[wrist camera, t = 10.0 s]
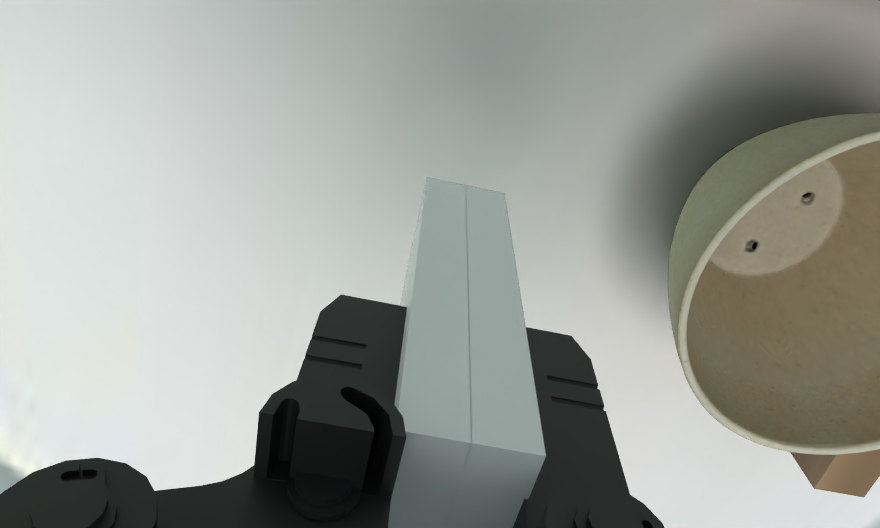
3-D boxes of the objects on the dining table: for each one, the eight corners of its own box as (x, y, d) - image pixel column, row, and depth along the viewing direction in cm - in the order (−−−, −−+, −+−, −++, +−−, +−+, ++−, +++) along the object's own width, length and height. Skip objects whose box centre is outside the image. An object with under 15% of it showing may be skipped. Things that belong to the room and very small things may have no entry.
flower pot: (737, 6, 20) (874, 41, 13) (972, 149, 22) (1188, 239, 15) (565, 260, 24) (606, 379, 17) (774, 360, 26) (879, 500, 19)
